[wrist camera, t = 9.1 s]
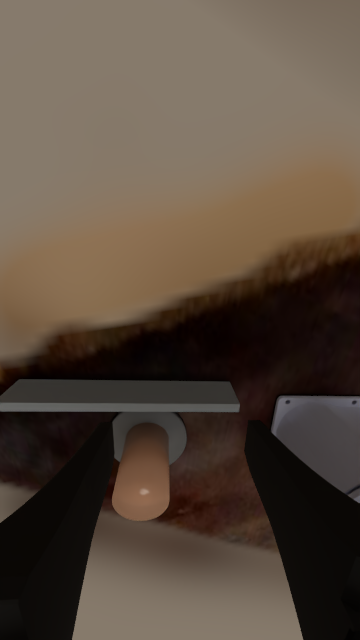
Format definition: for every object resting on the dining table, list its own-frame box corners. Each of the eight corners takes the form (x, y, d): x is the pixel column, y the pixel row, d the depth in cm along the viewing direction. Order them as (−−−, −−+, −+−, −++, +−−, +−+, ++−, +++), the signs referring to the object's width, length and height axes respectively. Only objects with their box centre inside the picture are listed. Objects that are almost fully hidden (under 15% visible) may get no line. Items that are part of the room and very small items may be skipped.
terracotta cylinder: (169, 422, 24) (170, 478, 18) (168, 457, 25) (168, 520, 19) (124, 422, 23) (111, 479, 18) (125, 457, 25) (113, 521, 19)
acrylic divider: (229, 381, 23) (239, 404, 20) (228, 388, 24) (238, 412, 20) (19, 379, 22) (-7, 402, 19) (20, 386, 22) (-5, 411, 19)
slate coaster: (188, 401, 24) (188, 407, 23) (184, 463, 26) (184, 470, 26) (107, 401, 23) (105, 406, 23) (110, 464, 26) (109, 470, 25)
